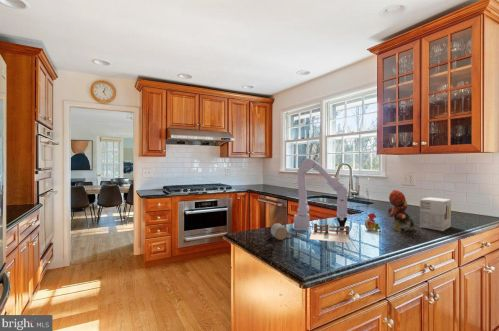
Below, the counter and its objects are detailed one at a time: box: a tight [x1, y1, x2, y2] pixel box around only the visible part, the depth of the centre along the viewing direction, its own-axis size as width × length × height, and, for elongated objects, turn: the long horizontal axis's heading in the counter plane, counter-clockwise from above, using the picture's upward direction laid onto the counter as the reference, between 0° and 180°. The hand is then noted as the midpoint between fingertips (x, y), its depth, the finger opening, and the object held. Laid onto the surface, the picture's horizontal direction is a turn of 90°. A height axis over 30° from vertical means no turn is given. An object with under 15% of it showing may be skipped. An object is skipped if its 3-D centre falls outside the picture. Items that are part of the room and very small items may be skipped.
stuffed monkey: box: [387, 189, 421, 233], centre depth 167 cm, size 15×17×25 cm
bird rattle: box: [364, 212, 382, 232], centre depth 163 cm, size 6×11×9 cm
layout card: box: [309, 228, 350, 243], centre depth 151 cm, size 20×22×1 cm
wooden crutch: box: [328, 225, 350, 235], centre depth 154 cm, size 11×2×4 cm, turn 72°
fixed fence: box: [313, 223, 329, 233], centre depth 157 cm, size 8×2×5 cm, turn 72°
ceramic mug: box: [270, 222, 292, 241], centre depth 147 cm, size 11×8×8 cm
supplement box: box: [419, 196, 452, 232], centre depth 172 cm, size 17×13×18 cm
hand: (341, 229), depth 158 cm, fingers closed
